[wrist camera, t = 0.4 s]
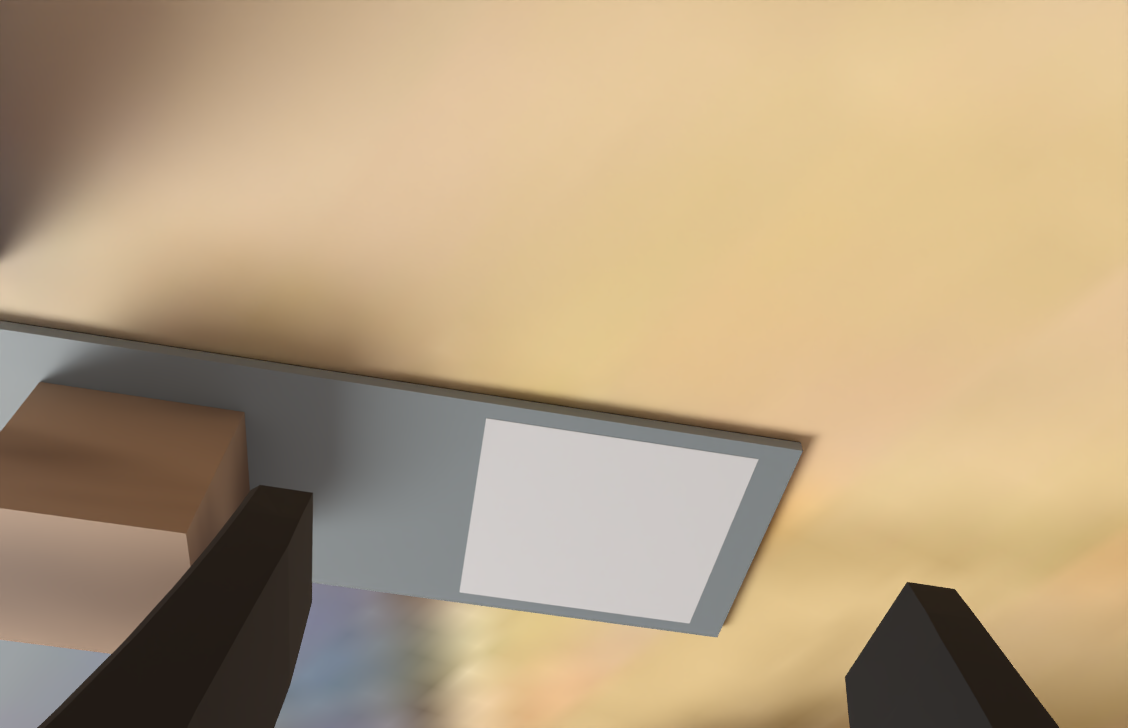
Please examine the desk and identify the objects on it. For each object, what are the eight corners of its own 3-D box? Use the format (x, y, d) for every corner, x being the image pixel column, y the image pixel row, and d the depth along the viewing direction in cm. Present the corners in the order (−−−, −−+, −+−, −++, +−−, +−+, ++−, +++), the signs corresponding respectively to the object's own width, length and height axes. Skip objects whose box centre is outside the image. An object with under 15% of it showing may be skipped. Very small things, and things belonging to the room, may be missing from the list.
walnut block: (252, 542, 26) (203, 665, 23) (73, 517, 25) (-3, 639, 22) (244, 412, 23) (185, 533, 19) (39, 381, 22) (-54, 500, 19)
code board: (715, 629, 28) (717, 637, 28) (16, 534, 26) (11, 542, 26) (800, 442, 23) (802, 451, 23) (-53, 312, 21) (-60, 320, 21)
